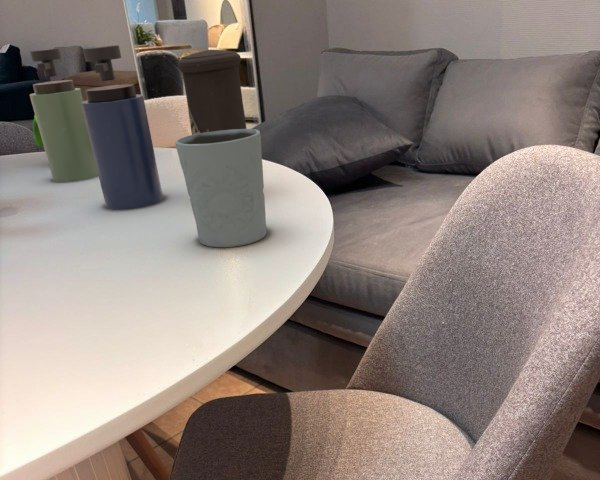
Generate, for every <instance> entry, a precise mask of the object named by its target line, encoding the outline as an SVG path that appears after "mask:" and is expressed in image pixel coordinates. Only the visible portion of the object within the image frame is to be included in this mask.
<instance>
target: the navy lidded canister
mask: <svg viewBox="0 0 600 480" xmlns="http://www.w3.org/2000/svg"><path fill="white" fill-rule="evenodd" d="M84 92H85V95H86V100H83V102H81V105H82V109H83V114H84V118H85V122H86V126H87V130H88V134H89V138H90V142H91V147H92V151H93V155H94V159H95V163H96V167H97V171H98V179H99V183H100V187H101V191H102V197H103V200H104V204H105V207H106V209H109V210H114V211H115V210H116V211H125V210H135V209H136V210H137V209H141V208H145V207H149V206H152V205H156V204H158V203H160V202H162V201H163V199H164V196H163V191H162V187H161V186H162V185H161V180H160V175H159V169H158V165H157V159H156V154H155V149H154V143H153V139H152V134H151V129H150V123H149V118H148V114H147V107H146V103H145V97H144V95H143V94H139V93H138V94H137V92H136V87H135V85H134V83H133V84H132V83H127V84H126V83H125V84H115V85H113V84H112V85H106V86H105V85H104V86H98V87H92V88H88V89H85V90H84Z"/></svg>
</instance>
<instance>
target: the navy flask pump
mask: <svg viewBox="0 0 600 480" xmlns="http://www.w3.org/2000/svg"><path fill="white" fill-rule="evenodd" d="M120 49H121V48H120V45H119V44H116V45H106V46H105V45H104V46H95V47H86V48H82V51H83V55H84V60H85V62H86V63H90V62H92V63H93V62H96V63H95V64H93V68H94V71H95V73H96V74H99V77H100V81H101V82H107V81H114V80H115V79H116V78H115V77H116V76H115V72H114V67H113V62H112V60H117V59H118V60H119V59H121V58H122V55H121V50H120Z"/></svg>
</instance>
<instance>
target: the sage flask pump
mask: <svg viewBox="0 0 600 480" xmlns="http://www.w3.org/2000/svg"><path fill="white" fill-rule="evenodd" d="M29 54H30V58H31V61H32V62H33V63H35V62H40V63H37V64H36V65H37V69H38V71H43V72H44V76H45V78H50V77H57V76H58V74H57V69H56V66H55V62H54V61H55V60H60V59H62V54H61V50H60V48H57V47H56V48H47V49H36V50H30V51H29Z"/></svg>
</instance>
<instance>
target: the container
mask: <svg viewBox="0 0 600 480" xmlns="http://www.w3.org/2000/svg"><path fill="white" fill-rule="evenodd" d="M241 58H242V57H241V55H240V54H239V53H238V52H236V51H235V50H219V49H218V50H215V49H206V50H203V51H199V52H195V53H191V54H187V55H184V56H181V58H180V59H179V60H178V61H177V62H178V63H177V66H178V69H179V70H180V72H181V73H182V76H183V77H182V78H183V83H184V91H185V96H186V104H187V110H188V119H189V125H190V133H191V135H194V134H200V133H205V132H213V131H220V130H232V129H247V122H246V115H245V109H244V102H243V94H242V93H243V92H242V85H241V84H242V83H241V77H240V69H239V67H240V64H241V61H242V59H241Z"/></svg>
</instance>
